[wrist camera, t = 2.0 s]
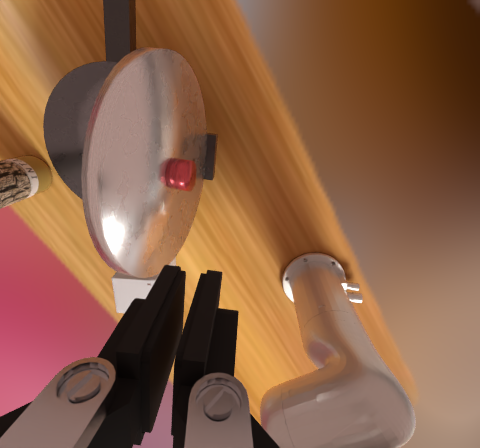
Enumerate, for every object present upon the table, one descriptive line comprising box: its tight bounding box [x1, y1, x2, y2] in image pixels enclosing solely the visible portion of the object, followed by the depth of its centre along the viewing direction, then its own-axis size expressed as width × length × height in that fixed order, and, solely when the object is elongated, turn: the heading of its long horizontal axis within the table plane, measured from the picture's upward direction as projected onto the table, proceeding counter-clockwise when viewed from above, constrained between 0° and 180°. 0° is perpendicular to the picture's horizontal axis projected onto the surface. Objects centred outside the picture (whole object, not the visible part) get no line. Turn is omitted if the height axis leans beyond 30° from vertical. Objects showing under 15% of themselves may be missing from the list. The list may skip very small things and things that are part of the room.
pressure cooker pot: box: [43, 0, 218, 199], centre depth 42 cm, size 23×30×12 cm
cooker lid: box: [81, 47, 207, 278], centre depth 28 cm, size 21×21×4 cm
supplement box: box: [112, 257, 176, 313], centre depth 53 cm, size 7×7×13 cm
